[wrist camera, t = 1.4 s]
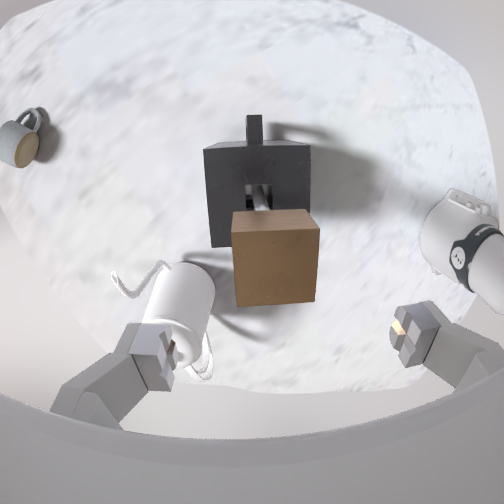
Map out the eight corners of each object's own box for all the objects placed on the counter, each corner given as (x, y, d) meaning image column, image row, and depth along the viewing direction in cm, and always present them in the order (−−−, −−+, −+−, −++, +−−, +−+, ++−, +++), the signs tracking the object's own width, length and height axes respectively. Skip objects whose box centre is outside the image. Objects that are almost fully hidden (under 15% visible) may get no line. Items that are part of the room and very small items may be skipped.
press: (284, 119, 38) (309, 112, 23) (285, 203, 43) (308, 243, 28) (216, 122, 37) (201, 116, 23) (222, 205, 43) (211, 247, 28)
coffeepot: (180, 211, 43) (142, 265, 26) (239, 326, 53) (238, 404, 36) (127, 235, 44) (74, 294, 27) (190, 340, 54) (176, 414, 37)
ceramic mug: (36, 166, 38) (10, 174, 31) (12, 155, 36) (-13, 161, 29) (51, 113, 34) (25, 113, 27) (26, 104, 32) (1, 105, 25)
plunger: (286, 157, 29) (350, 198, 12) (286, 215, 32) (336, 319, 15) (224, 159, 29) (196, 204, 12) (228, 218, 32) (212, 328, 14)
